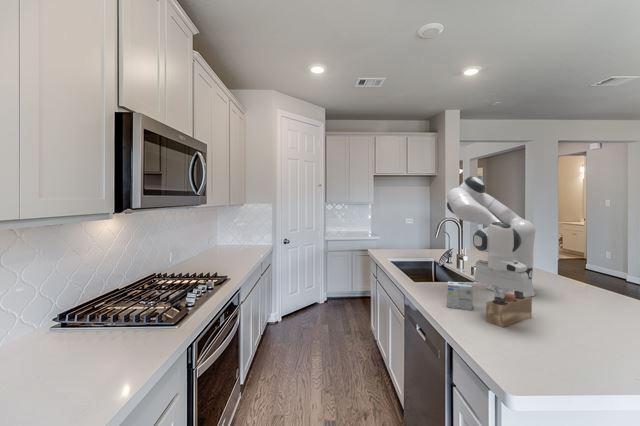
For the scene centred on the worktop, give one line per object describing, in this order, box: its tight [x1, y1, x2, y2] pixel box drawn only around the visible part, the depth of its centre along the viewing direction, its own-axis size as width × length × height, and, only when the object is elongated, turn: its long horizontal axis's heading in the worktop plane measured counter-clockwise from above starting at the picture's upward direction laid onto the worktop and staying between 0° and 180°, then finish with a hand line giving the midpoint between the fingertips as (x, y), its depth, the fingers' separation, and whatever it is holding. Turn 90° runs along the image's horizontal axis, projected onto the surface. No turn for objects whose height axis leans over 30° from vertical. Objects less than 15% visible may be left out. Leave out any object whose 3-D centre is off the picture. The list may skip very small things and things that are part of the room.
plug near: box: [493, 296, 506, 305], centre depth 128 cm, size 4×4×8 cm
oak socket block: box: [485, 294, 533, 328], centre depth 132 cm, size 7×21×8 cm, turn 121°
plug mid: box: [504, 294, 515, 302], centre depth 132 cm, size 4×4×8 cm
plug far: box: [514, 291, 523, 300], centre depth 135 cm, size 4×4×8 cm
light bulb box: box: [446, 281, 473, 311], centre depth 148 cm, size 11×7×11 cm, turn 65°
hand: (499, 297), depth 128 cm, fingers closed, pressing on plug near
